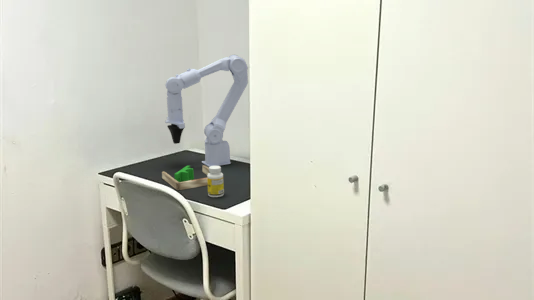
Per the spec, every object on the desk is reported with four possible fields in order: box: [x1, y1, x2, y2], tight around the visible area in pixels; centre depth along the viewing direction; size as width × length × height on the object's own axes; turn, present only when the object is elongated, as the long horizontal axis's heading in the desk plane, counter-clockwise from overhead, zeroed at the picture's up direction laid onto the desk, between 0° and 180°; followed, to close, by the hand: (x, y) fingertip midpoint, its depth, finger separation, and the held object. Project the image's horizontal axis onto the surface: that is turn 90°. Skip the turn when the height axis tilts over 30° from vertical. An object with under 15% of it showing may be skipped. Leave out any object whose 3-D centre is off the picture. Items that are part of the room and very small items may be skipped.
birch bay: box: [161, 164, 210, 191], centre depth 209 cm, size 17×16×3 cm
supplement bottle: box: [206, 165, 225, 198], centre depth 193 cm, size 5×5×10 cm
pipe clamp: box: [173, 165, 195, 182], centre depth 208 cm, size 11×4×5 cm, turn 164°
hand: (176, 143), depth 225 cm, fingers closed
